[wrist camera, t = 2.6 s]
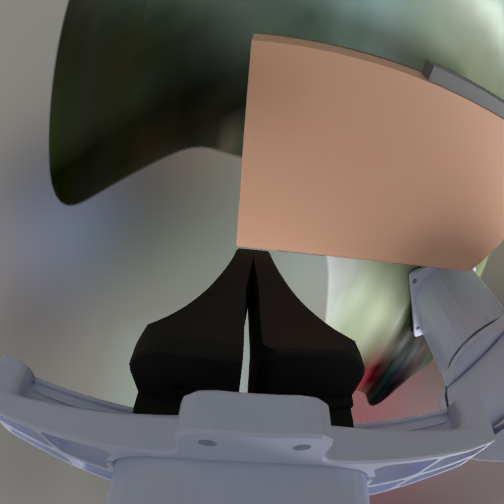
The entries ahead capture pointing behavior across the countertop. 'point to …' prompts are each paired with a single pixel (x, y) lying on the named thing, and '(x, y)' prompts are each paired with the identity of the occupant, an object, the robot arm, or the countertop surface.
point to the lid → (369, 158)
